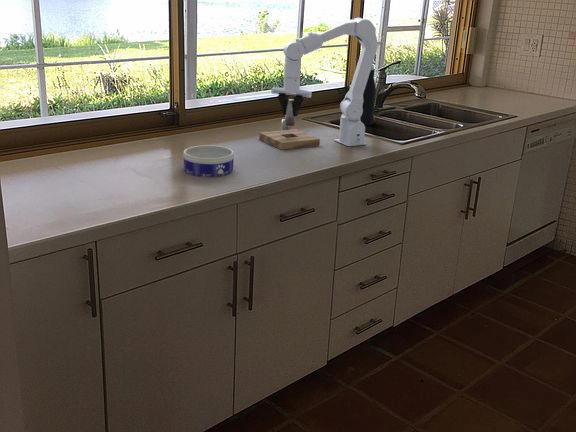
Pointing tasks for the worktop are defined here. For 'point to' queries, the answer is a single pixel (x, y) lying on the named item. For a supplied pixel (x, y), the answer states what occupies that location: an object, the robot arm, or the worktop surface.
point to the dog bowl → (208, 161)
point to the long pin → (289, 113)
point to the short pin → (285, 126)
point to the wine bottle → (369, 99)
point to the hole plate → (289, 139)
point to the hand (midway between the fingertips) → (290, 115)
